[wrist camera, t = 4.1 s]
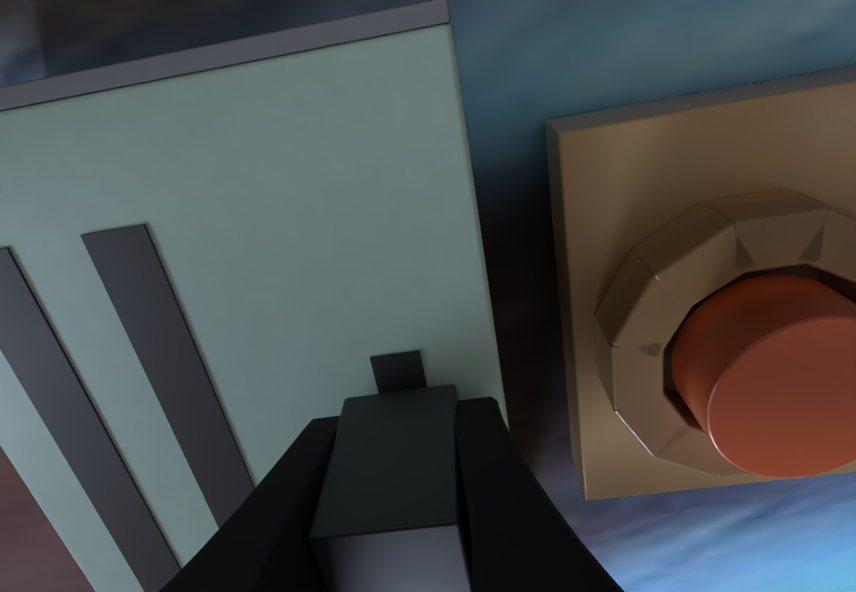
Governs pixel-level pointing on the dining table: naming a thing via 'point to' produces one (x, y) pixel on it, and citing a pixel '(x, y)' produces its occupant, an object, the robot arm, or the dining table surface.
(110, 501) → the toaster
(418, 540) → the slider
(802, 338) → the red stop button
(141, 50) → the dining table surface
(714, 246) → the push button base
